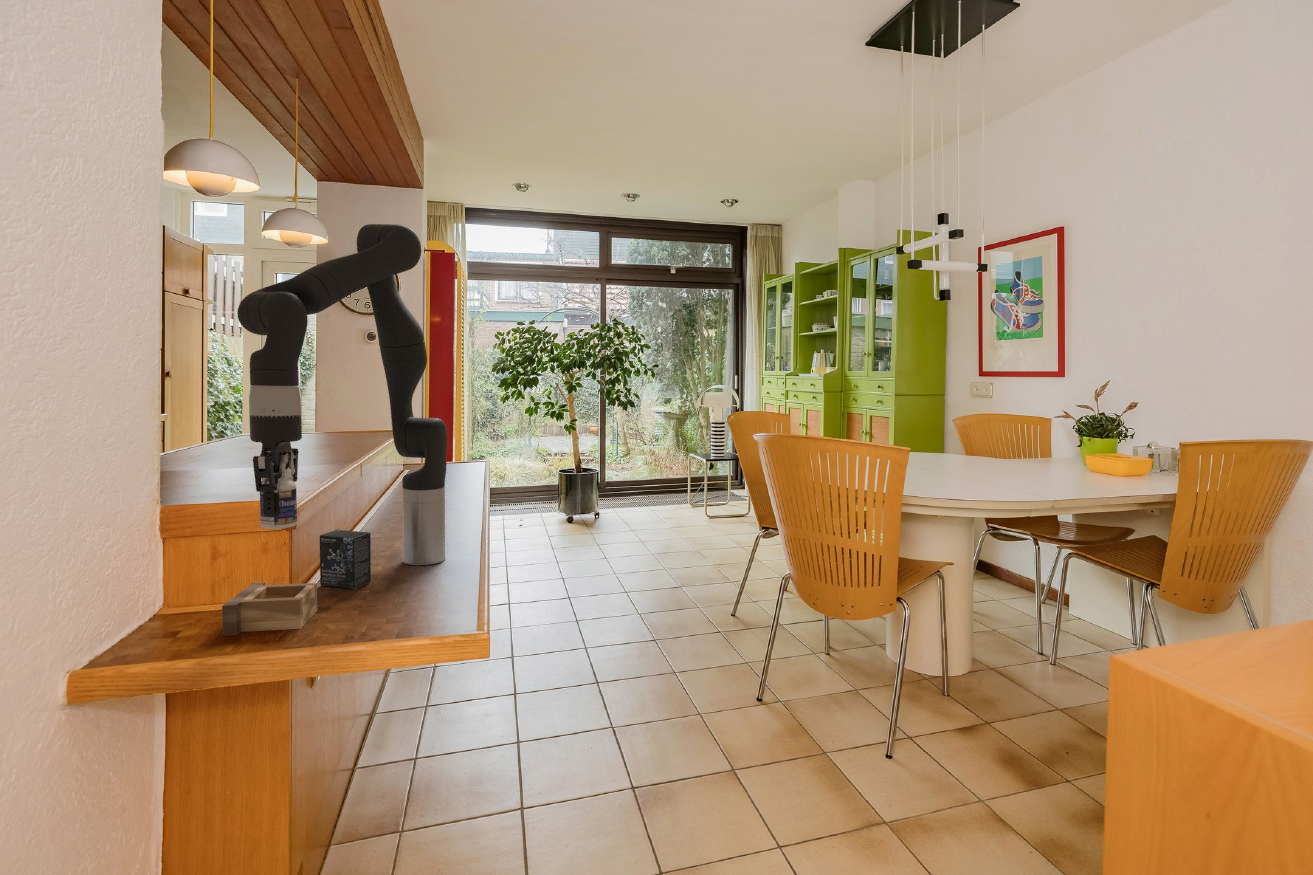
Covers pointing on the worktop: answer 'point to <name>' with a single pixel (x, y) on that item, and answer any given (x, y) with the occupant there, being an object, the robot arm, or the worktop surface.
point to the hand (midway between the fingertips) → (278, 511)
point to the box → (345, 559)
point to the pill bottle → (282, 506)
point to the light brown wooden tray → (278, 607)
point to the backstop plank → (235, 611)
